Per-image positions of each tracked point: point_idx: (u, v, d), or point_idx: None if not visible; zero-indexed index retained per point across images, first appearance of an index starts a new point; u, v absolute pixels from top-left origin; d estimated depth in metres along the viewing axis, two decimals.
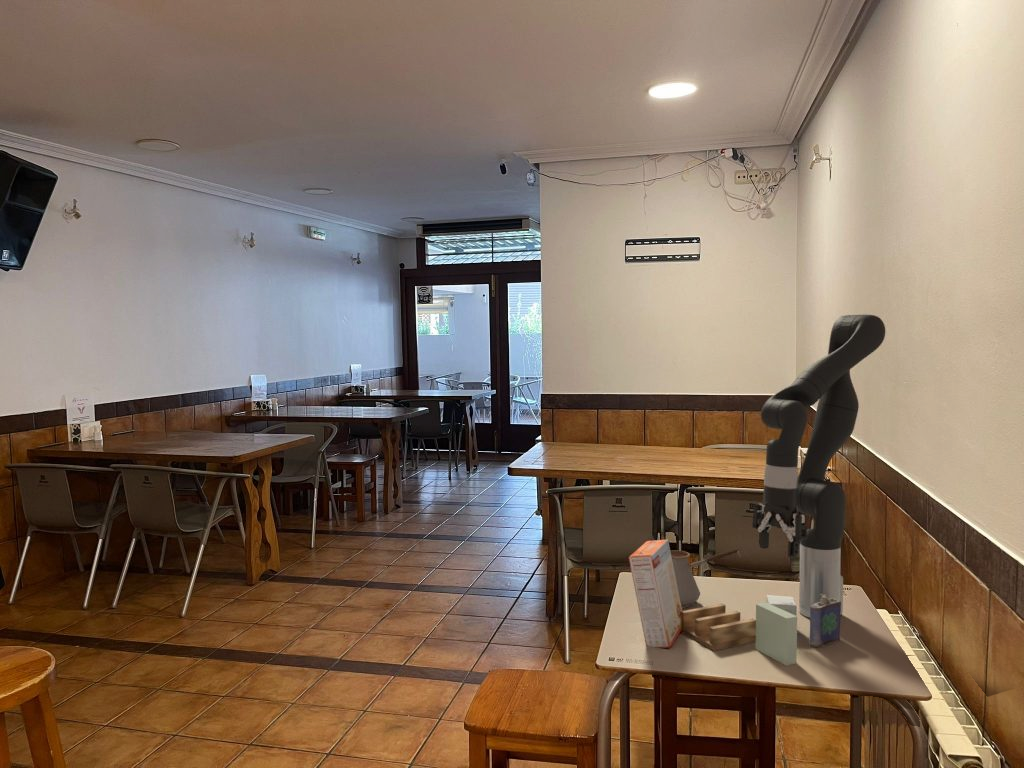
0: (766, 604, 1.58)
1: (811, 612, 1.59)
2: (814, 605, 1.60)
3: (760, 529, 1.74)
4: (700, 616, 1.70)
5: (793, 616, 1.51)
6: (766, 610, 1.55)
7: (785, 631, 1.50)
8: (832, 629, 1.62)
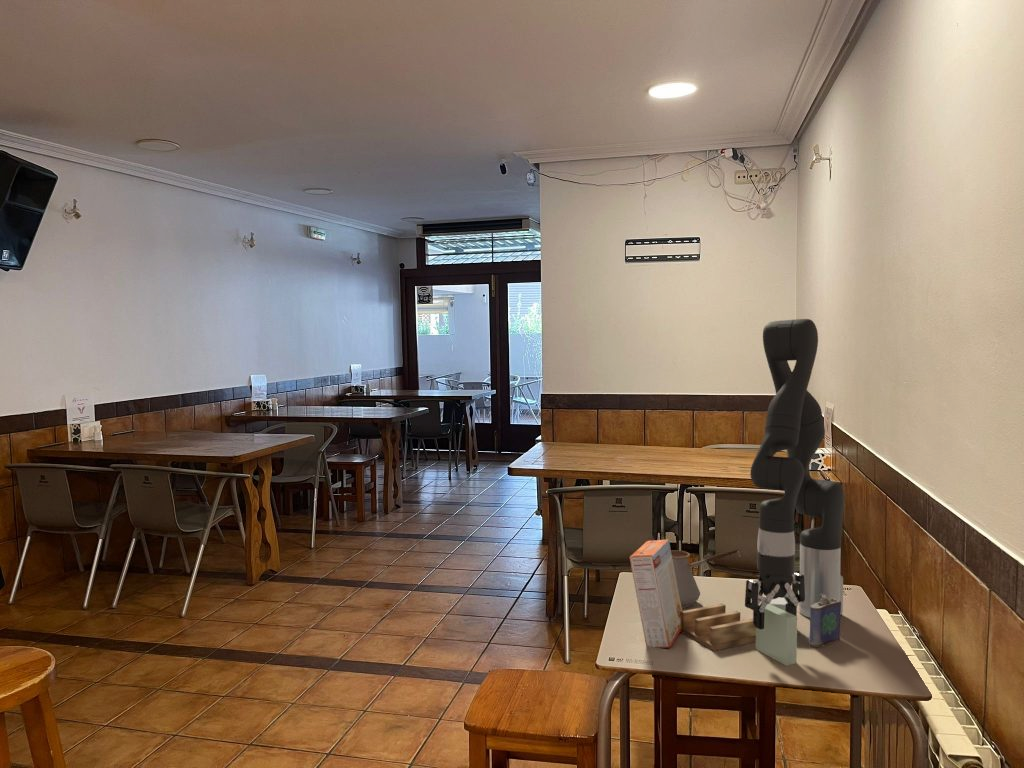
0: None
1: (811, 612, 1.59)
2: (814, 605, 1.60)
3: (762, 608, 1.52)
4: (700, 616, 1.70)
5: (793, 616, 1.51)
6: (766, 610, 1.55)
7: (785, 631, 1.50)
8: (832, 629, 1.62)
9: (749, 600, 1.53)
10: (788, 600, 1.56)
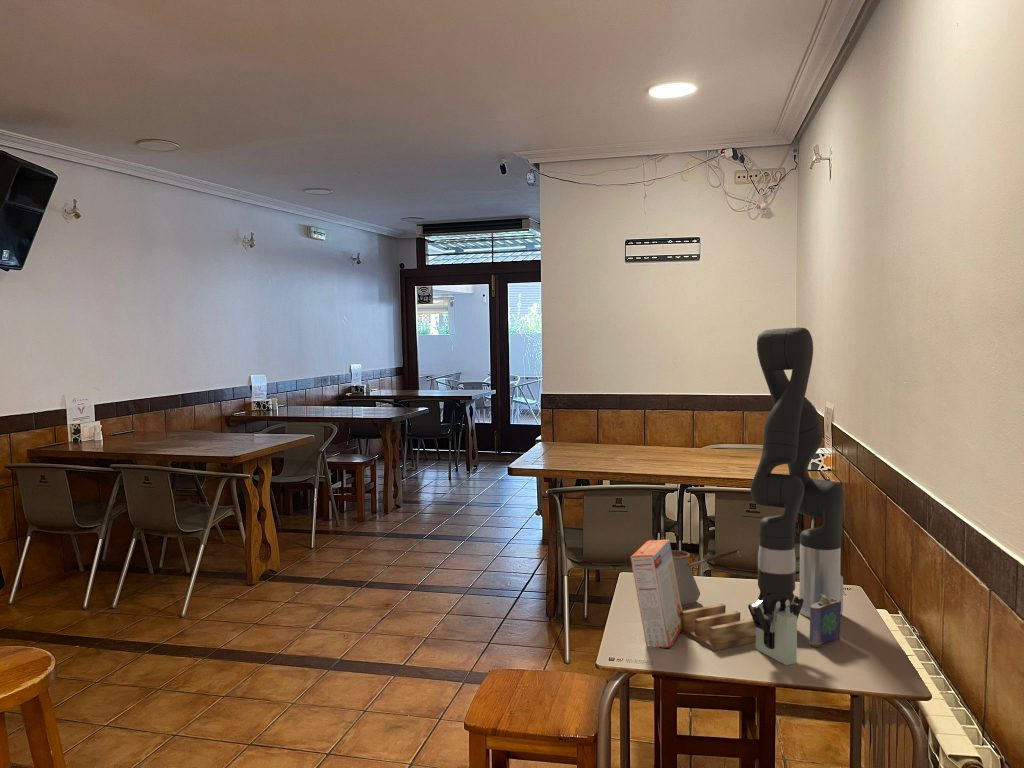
0: None
1: (811, 612, 1.59)
2: (814, 605, 1.60)
3: (773, 628, 1.53)
4: (700, 616, 1.70)
5: (793, 616, 1.51)
6: None
7: (785, 631, 1.50)
8: (832, 629, 1.62)
9: (758, 621, 1.54)
10: None
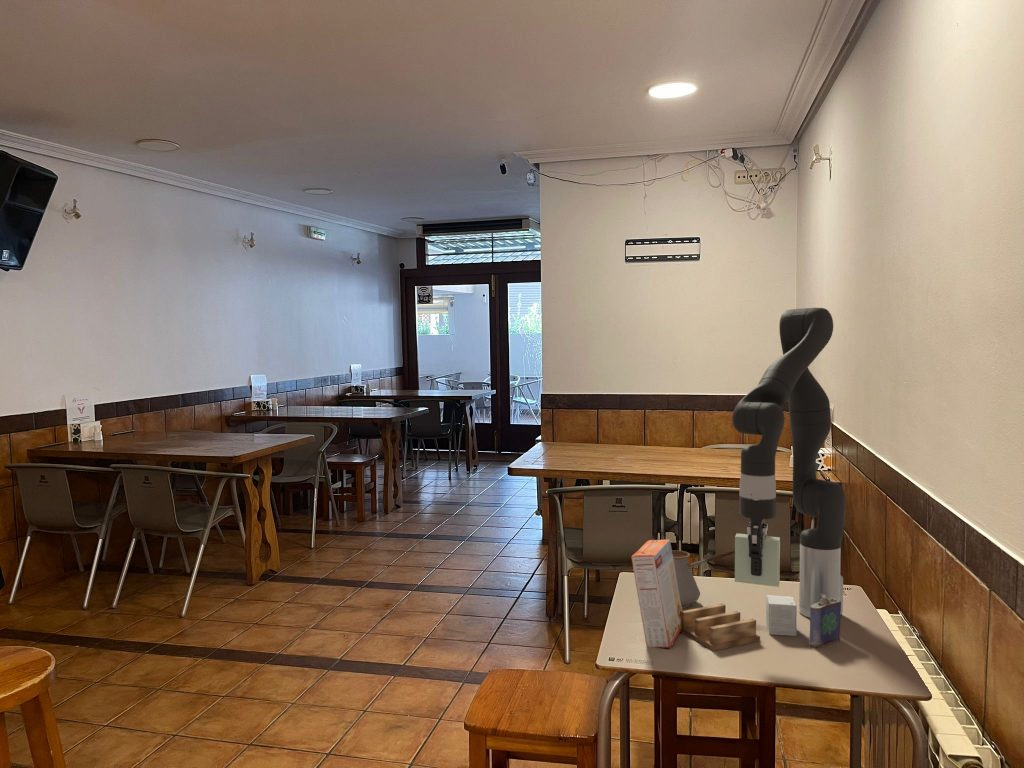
0: (741, 534, 1.59)
1: (811, 612, 1.59)
2: (814, 605, 1.60)
3: (762, 555, 1.55)
4: (700, 616, 1.70)
5: (778, 538, 1.56)
6: None
7: (777, 553, 1.54)
8: (832, 629, 1.62)
9: (751, 550, 1.54)
10: None
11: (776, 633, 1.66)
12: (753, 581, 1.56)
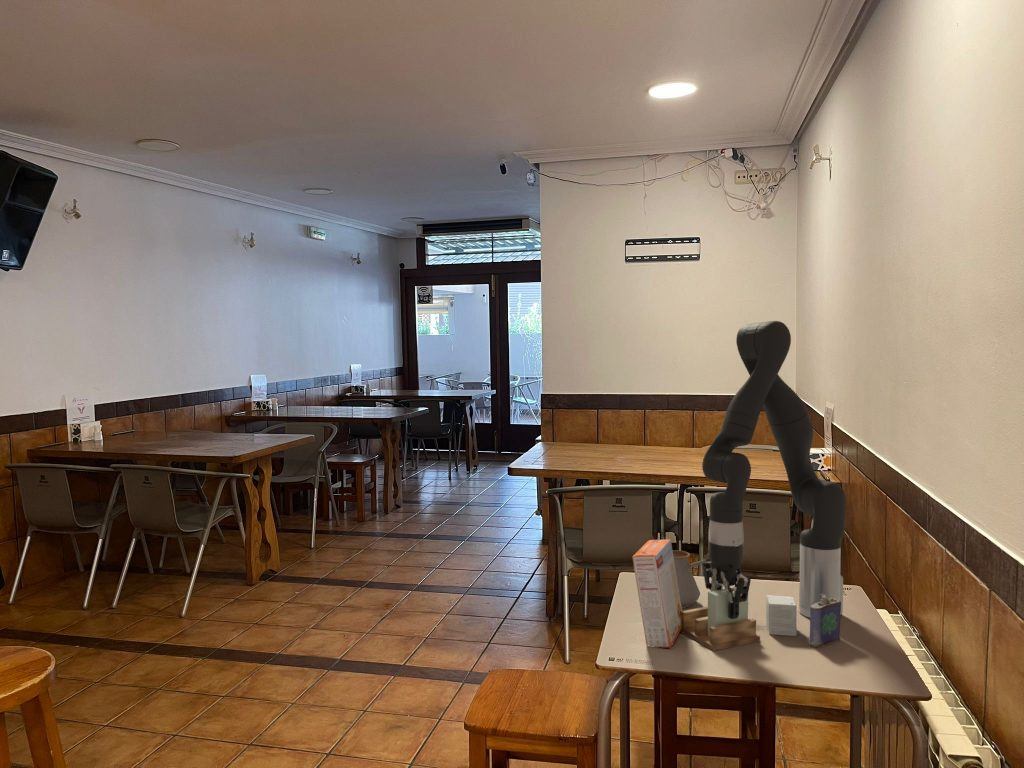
0: (714, 592, 1.63)
1: (811, 612, 1.59)
2: (814, 605, 1.60)
3: None
4: (700, 616, 1.70)
5: None
6: (727, 595, 1.62)
7: (747, 602, 1.64)
8: (832, 629, 1.62)
9: None
10: None
11: (776, 633, 1.66)
12: None
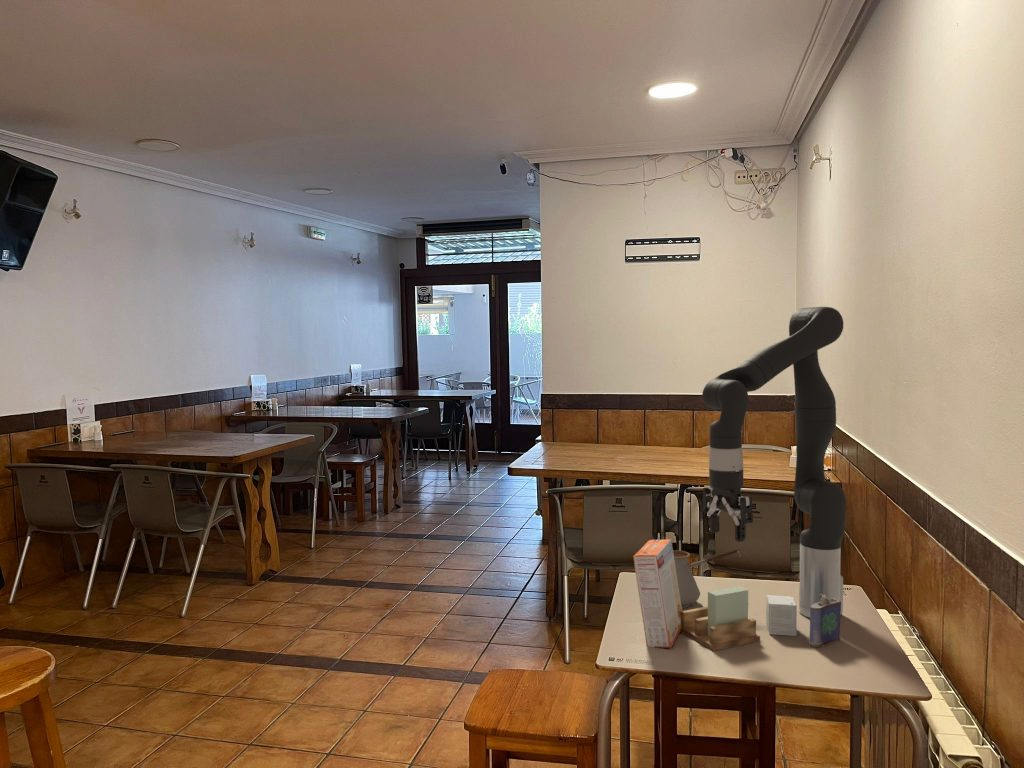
0: (714, 592, 1.63)
1: (811, 612, 1.59)
2: (814, 605, 1.60)
3: None
4: (700, 616, 1.70)
5: (740, 587, 1.66)
6: (727, 595, 1.62)
7: (747, 602, 1.64)
8: (832, 629, 1.62)
9: None
10: (712, 513, 1.70)
11: (776, 633, 1.66)
12: None
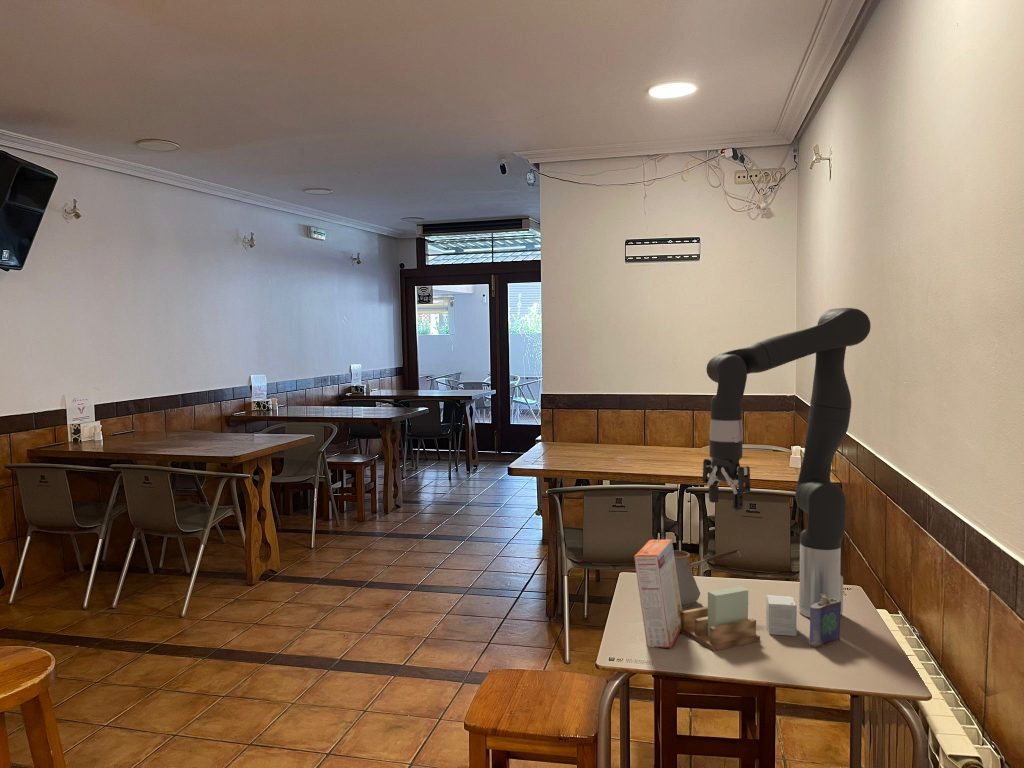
0: (714, 592, 1.63)
1: (811, 612, 1.59)
2: (814, 605, 1.60)
3: None
4: (700, 616, 1.70)
5: (740, 587, 1.66)
6: (727, 595, 1.62)
7: (747, 602, 1.64)
8: (832, 629, 1.62)
9: None
10: (712, 483, 1.76)
11: (776, 633, 1.66)
12: None
